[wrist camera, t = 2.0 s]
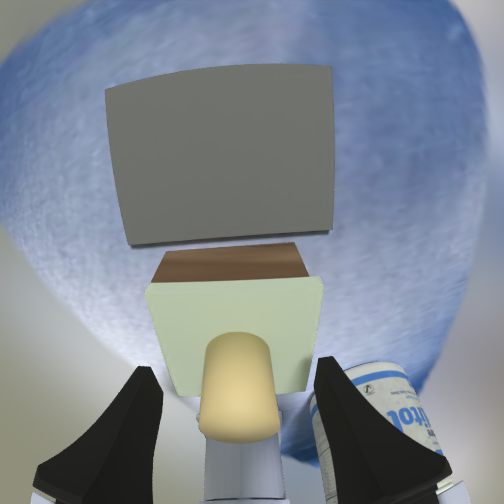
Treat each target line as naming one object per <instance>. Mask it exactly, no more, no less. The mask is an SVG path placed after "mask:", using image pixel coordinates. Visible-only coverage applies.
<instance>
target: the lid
mask: <svg viewBox="0 0 504 504" xmlns="http://www.w3.org/2000/svg"><path fill="white" fill-rule="evenodd" d="M323 290H324V286H323V284H322V282H321V280H320V278H319V276H316V277H299V278H281V279H260V280H237V281H210V282H173V283H149V285H148V287H147V289H146V291H145V293H144V294H145V298H146V301H147V305H148V308H149V312H150V315H151V319H152V322H153V325H154V329H155V332H156V335H157V338H158V341H159V344H160V347H161V350H162V353H163V356H164V359H165V362H166V365H167V368H168V370H169V373H170V376H171V378H172V381H173V384H174V386H175V389H176V391H177V394H178V396H199V397H201V403H200V415H199V430H200V431H201V432H202V433H203V434H204V435H205V436H207V437H209V438H211V439H213V440H216V441H220V442H225V443H234V444H244V443H253V442H258V441H262V440H265V439H267V438H269V437H271V436H273V435H274V434H276V433H277V432H278V430H279V429H280V421H279V413H278V406H277V399H276V394H284V393H294V392H303V391H306V386H307V382H308V377H309V372H310V367H311V362H312V357H313V351H314V346H315V340H316V335H317V329H318V323H319V317H320V310H321V304H322V297H323Z"/></svg>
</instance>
